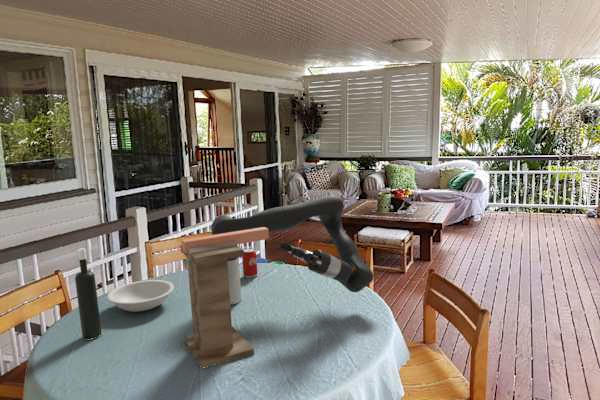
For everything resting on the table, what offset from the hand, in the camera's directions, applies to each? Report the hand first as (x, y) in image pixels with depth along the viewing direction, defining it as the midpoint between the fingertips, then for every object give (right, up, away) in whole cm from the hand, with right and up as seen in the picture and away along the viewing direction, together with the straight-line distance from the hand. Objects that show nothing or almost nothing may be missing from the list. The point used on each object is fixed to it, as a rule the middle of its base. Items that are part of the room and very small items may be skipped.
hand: (286, 247), depth 147 cm
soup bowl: (-55, -26, +27) cm, 67 cm away
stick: (-17, +2, -10) cm, 20 cm away
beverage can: (-18, -19, +58) cm, 63 cm away
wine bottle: (-64, -30, +5) cm, 71 cm away
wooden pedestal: (-21, -30, -7) cm, 37 cm away
